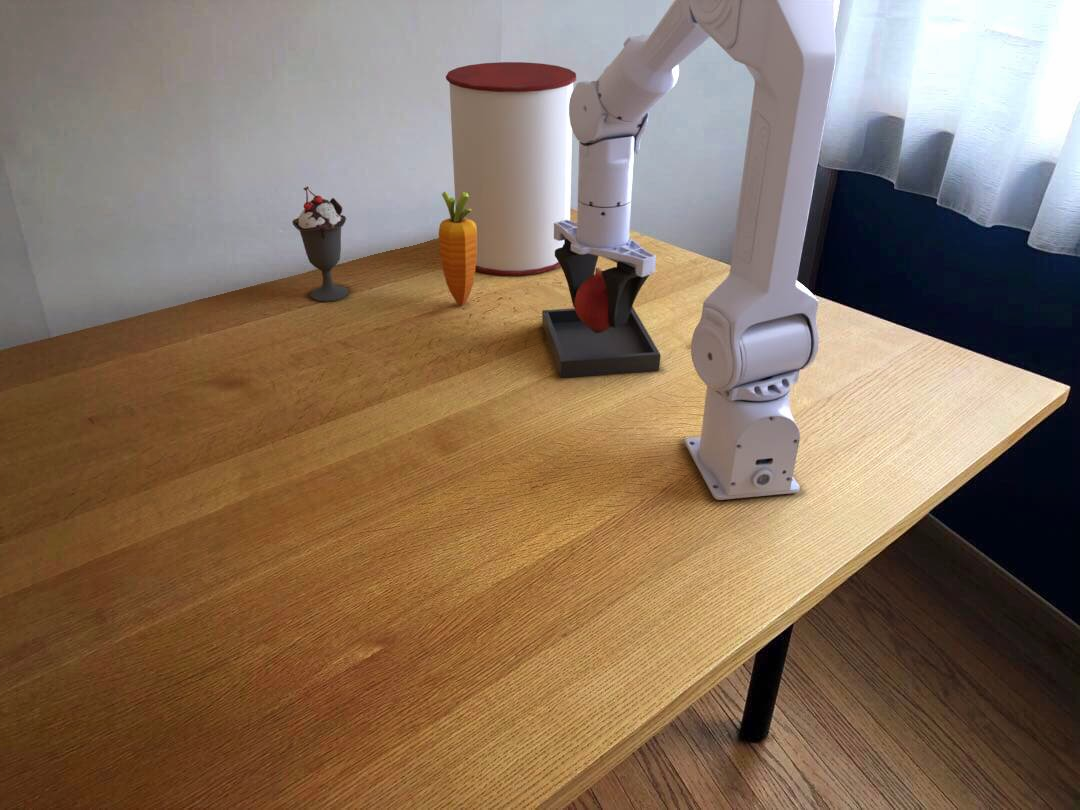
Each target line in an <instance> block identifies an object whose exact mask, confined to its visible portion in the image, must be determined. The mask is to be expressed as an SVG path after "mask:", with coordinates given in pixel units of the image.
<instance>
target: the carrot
mask: <svg viewBox="0 0 1080 810" xmlns="http://www.w3.org/2000/svg"><path fill="white" fill-rule="evenodd" d="M441 196H442V198H443V200H444V202H445V204H446V207H447V210H448V213H449V218H446V219H444V220H442V221H441V222H440V223H439V226H438V227H439V228H438V243H439V244H438V245H439V252H440V262H441V267H442V271H443V275H444V279H445V282H446V286H447V288H448V290H449V292H450V295H451V296H452V297H453V299H454V301H455V303H456V304H457V305H459V306H461V307H462V306H463V305H464V304H466V302H467V300H468V298H469V297H470V294H471V291H472V288H473V286H474V281H475V275H476V270H475V269H476V258H477V228H476V224H475V222H474V221H472V220H470V219H467V218H464V217H465V216H466V215H467V214H468V213H469V212H470V211H471V209H470V208H467V209H465V210H464V211H463V212H462V210H463V208H464V206H465V204H466V202H467V200H468V198H469V195H468V194H467V193H465V192H463V193H462V194H461V196H460V198H459V201H458V203H457V206H456V209H455V197H450V196H449V194H448V192H447V191H443V192H442V193H441Z"/></svg>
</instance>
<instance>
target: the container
mask: <svg viewBox="0 0 1080 810" xmlns="http://www.w3.org/2000/svg"><path fill="white" fill-rule="evenodd" d="M445 80H446V81H447V82H448V83H449V84H448V85H449V103H450V122H451V123H450V124H451V145H452V146H451V147H452V160H453V161H452V165H453V185H454V199H455V204H454V210H456V206H457V203H458V201H459V198H460V196H461V194H462V193H463V192H465V193H467V194H468V195H469V198H468V200H467V202H466V204H465V206H464V208H463V210H462V212H463V211H464V210H465V209H467V208H470V209H471V211H470V212H469V213H468V214H467V215H466V216H465V217H464V218H467V219H470V220H472V221H474V222H475V224H476V228H477V258H476V269H475V272H479V273H483V274H489V275H495V276H508V277H509V276H510V277H511V276H513V277H516V276H517V277H518V276H519V277H521V276H529V275H539V274H542V273H546V272H551V271H555V270H556V269H558V268H561V266H560V264H559V262H558V260H557V259H556V257H555V250H556V249H558V248H561V247H563V245H564V240H562V241H558V240H556V239H554V223H556V222H559V221H563V220H570V221H571V194H572V192H571V190H572V156H573V155H572V153H573V151H572V150H573V149H572V148H573V131H572V128H571V124H570V118H569V102H570V97H571V94H572V92H573V90H574V83H575V82H576V81H577V73H576V72H575V71H573V70H572V69H570V68H567V67H563V66H559V65H555V64H548V63H541V62H523V61H520V62H519V61H502V62H499V61H498V62H484V63H476V64H475V63H474V64H469V65H463V66H459V67H456V68H454V69H451V70H449V71H448V72H447V73H446V75H445Z"/></svg>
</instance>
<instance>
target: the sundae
mask: <svg viewBox="0 0 1080 810" xmlns="http://www.w3.org/2000/svg"><path fill="white" fill-rule="evenodd" d="M303 190H304V191H305V194H306V197H305V198H306V202H304V204H303V210H302V211H301V213H299V216H298V217H297V218H294V219H293V220H292V221H291V222H292V226H294V228H295V229H296V230H298V231H299V233H300V237H301V240H302V243H303V247H304V250H305V255H306V256H307V259H308V261H309V263H310V264H311V265H312V266H313V267H314V268H316V269H318V270H319V271H321V276H322V284H321V286H318V287H316V288H314V289H312V290H311V292H310V294H309V296H310V298H311V299H312V300H314V301H317V302H324V303H325V302H326V303H327V302H335V301H338V300H342V299H344V298H345V297H347V295H348V294H349V291H348V289H347V287H344V286H342V285H337V284H334V281H333V279H332V270H333V268H335V267H336V266H337V265H338V263H339V262H340V260H341V252H342V227H344V225H345V223H346V221H347V217H346V215H343V214H342V213H343V206H342V205H341V204H340V203H339V202H338V201H337V200H336V198H334V197H332V198H331V199H330V200H329V199H325V198H323V197H322V196H321V195H316V194H315V193H314V192H312V191H310V188H309V186H308V185H307V186H305V187H303ZM308 192H309V194H311V195H312V196H314V197H313V198H312V199H311V200H310V201H309V194H308Z"/></svg>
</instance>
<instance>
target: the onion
mask: <svg viewBox="0 0 1080 810" xmlns="http://www.w3.org/2000/svg"><path fill="white" fill-rule="evenodd" d="M604 270H605V269H603V268H602V267H599V266H598V267H595V272H594V275H593V276H591V277H589V278H588V279H587V280H586V281H585V282H584V283H583V284H582V285H581V286H580V287H579V289H578V291H577V293H576V297H575V302H574V306H575V311H576V313H577V315H578V317H579V318H580V320H581V321H582V322H583V323H584V324H586V325H587V326H588V327H589V328H590V329H591V330H592V331H593V332H595V333H601V332H603V331H606V330H608V329H610V328H612V327H611V326H610V323H609V301H608V293H607V288H606V284H605V281H604V278H603V276H602V271H604Z"/></svg>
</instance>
